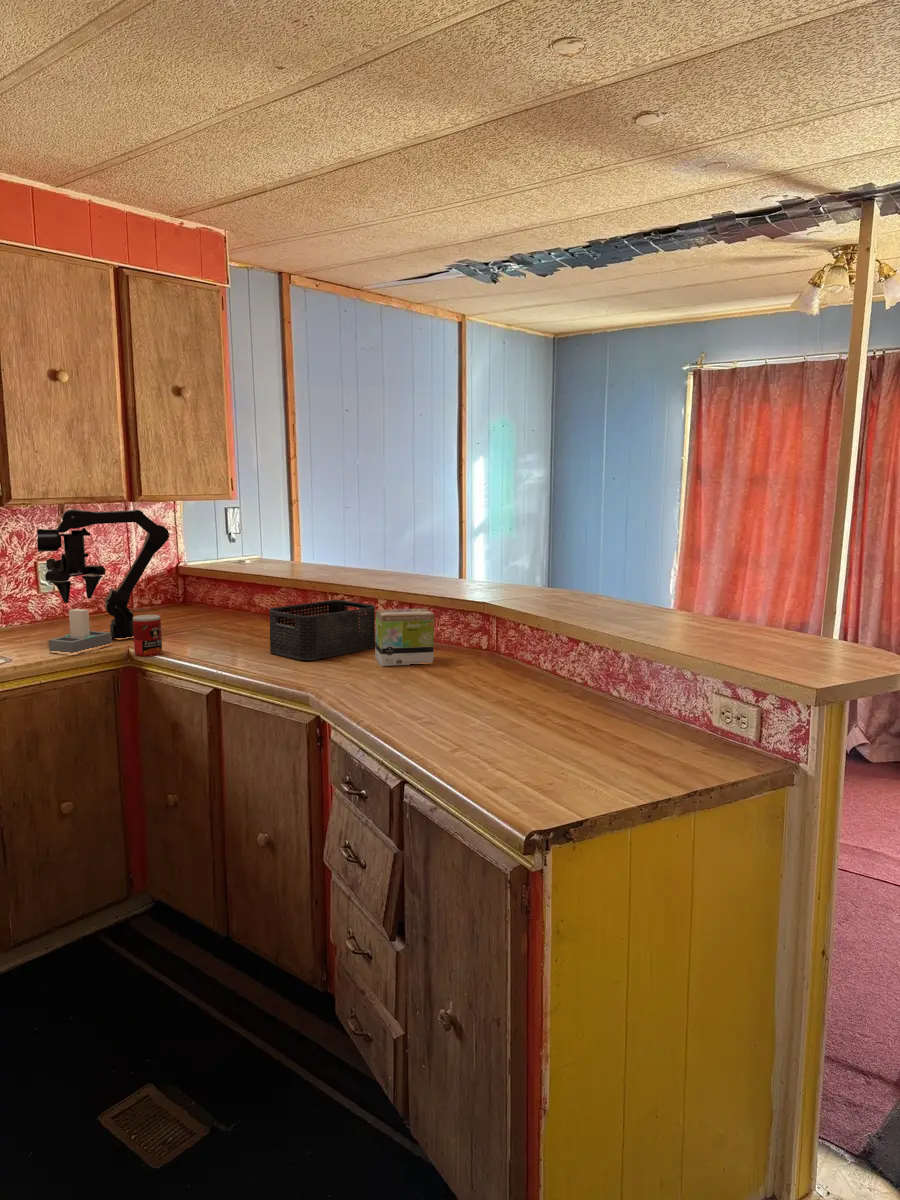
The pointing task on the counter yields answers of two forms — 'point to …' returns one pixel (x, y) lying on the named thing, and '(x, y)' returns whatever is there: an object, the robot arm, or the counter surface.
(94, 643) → the frame
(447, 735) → the counter surface
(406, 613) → the tea box
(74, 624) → the block
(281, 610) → the storage bin
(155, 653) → the canned food
